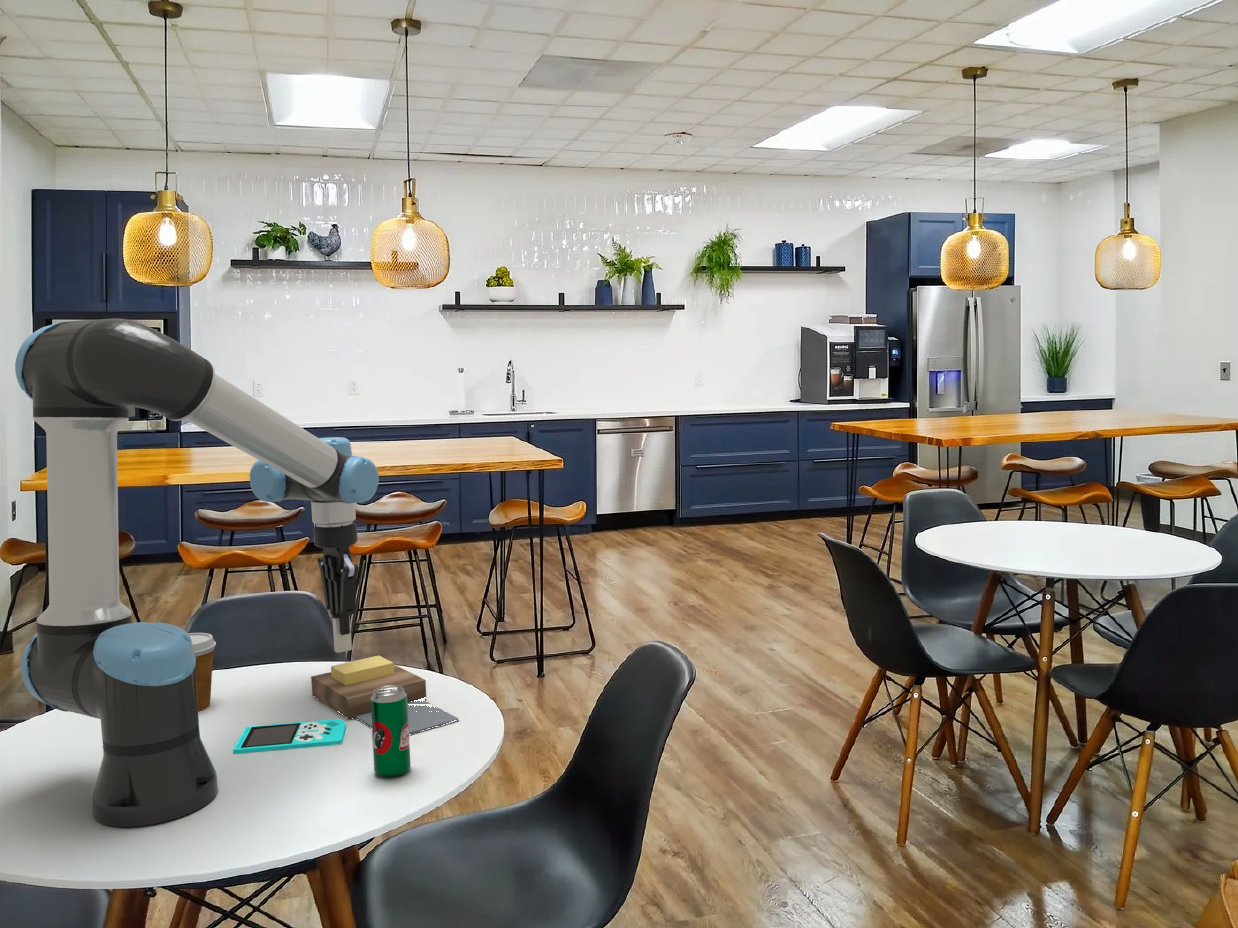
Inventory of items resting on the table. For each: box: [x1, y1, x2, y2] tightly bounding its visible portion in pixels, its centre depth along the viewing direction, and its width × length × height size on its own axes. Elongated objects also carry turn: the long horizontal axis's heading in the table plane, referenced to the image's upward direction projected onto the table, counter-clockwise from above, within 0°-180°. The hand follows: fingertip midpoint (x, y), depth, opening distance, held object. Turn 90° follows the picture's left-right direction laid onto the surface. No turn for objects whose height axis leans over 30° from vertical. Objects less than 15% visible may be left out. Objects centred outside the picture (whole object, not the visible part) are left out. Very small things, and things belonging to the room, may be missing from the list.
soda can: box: [370, 685, 412, 779], centre depth 136 cm, size 5×5×12 cm
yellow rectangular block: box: [330, 655, 395, 685], centre depth 170 cm, size 6×9×2 cm, turn 129°
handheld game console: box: [232, 718, 347, 755], centre depth 151 cm, size 10×16×1 cm, turn 100°
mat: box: [355, 700, 460, 735], centre depth 157 cm, size 13×12×1 cm
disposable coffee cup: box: [187, 632, 217, 712], centre depth 166 cm, size 10×10×12 cm
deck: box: [310, 664, 427, 720], centre depth 168 cm, size 16×14×4 cm
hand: (343, 650), depth 176 cm, fingers closed
